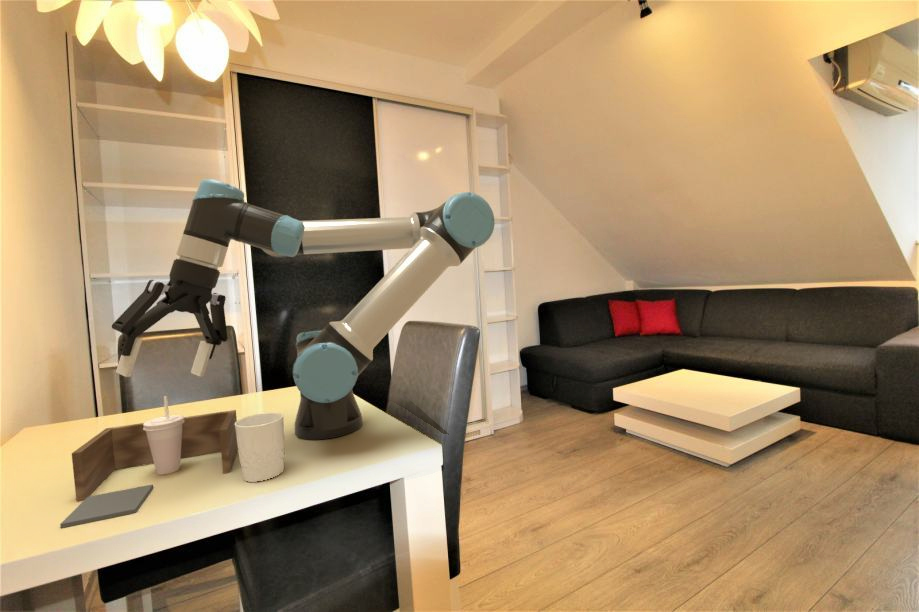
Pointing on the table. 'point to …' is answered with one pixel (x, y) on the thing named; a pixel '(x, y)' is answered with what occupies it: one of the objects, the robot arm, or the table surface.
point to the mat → (108, 506)
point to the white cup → (260, 446)
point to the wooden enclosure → (133, 449)
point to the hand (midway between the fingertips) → (162, 374)
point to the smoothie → (165, 441)
